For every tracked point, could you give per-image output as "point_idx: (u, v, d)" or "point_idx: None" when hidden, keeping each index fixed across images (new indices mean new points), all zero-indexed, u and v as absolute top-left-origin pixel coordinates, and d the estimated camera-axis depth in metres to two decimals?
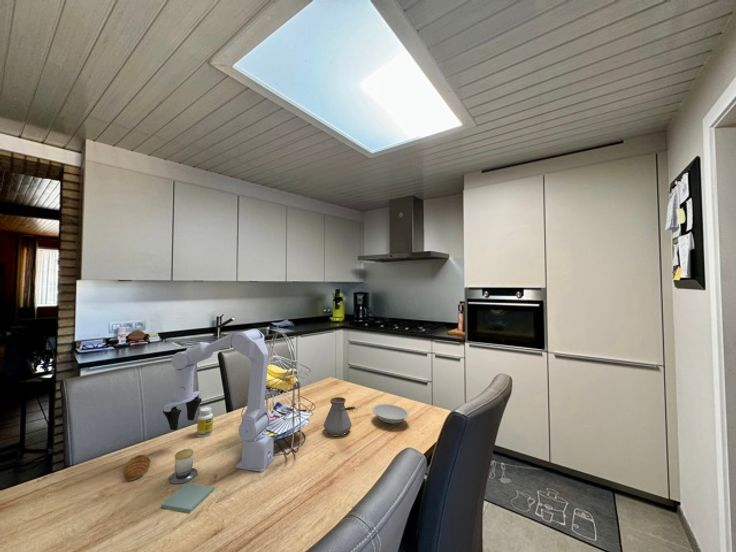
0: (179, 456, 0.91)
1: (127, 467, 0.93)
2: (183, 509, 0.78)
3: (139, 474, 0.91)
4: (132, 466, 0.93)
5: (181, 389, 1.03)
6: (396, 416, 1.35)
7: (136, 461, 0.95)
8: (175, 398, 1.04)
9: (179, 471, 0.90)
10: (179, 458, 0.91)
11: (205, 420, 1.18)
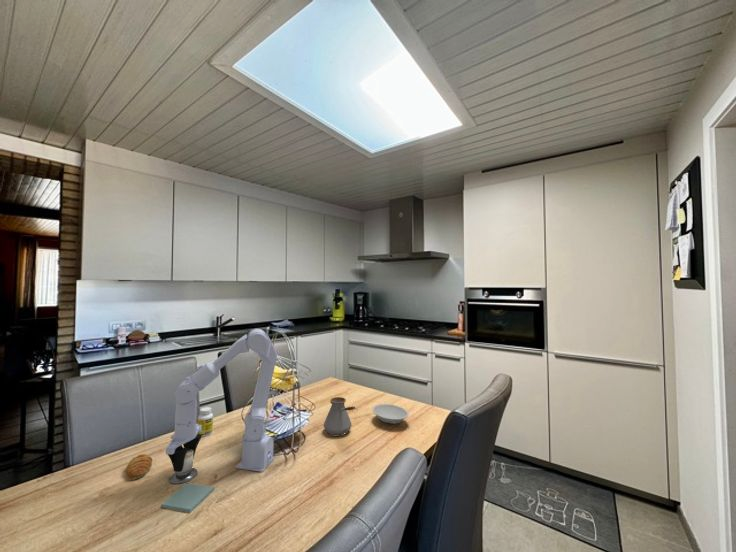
0: None
1: (130, 466, 0.93)
2: (183, 509, 0.78)
3: (142, 473, 0.92)
4: (135, 465, 0.93)
5: (184, 426, 0.91)
6: (396, 416, 1.35)
7: (138, 460, 0.95)
8: (177, 437, 0.91)
9: None
10: None
11: (205, 420, 1.18)
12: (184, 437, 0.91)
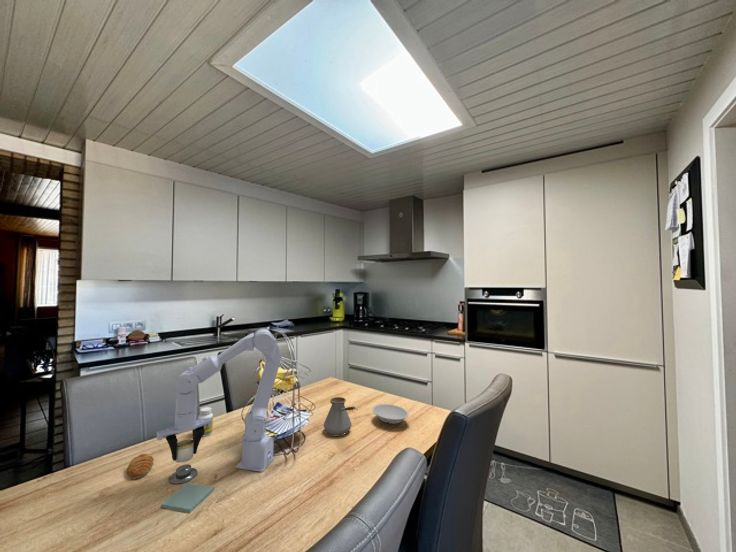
0: (177, 444, 0.92)
1: (131, 466, 0.93)
2: (183, 509, 0.78)
3: (144, 472, 0.92)
4: (136, 465, 0.93)
5: (177, 416, 0.91)
6: (396, 416, 1.35)
7: (140, 460, 0.95)
8: (175, 424, 0.92)
9: (175, 460, 0.91)
10: None
11: None
12: (177, 427, 0.91)
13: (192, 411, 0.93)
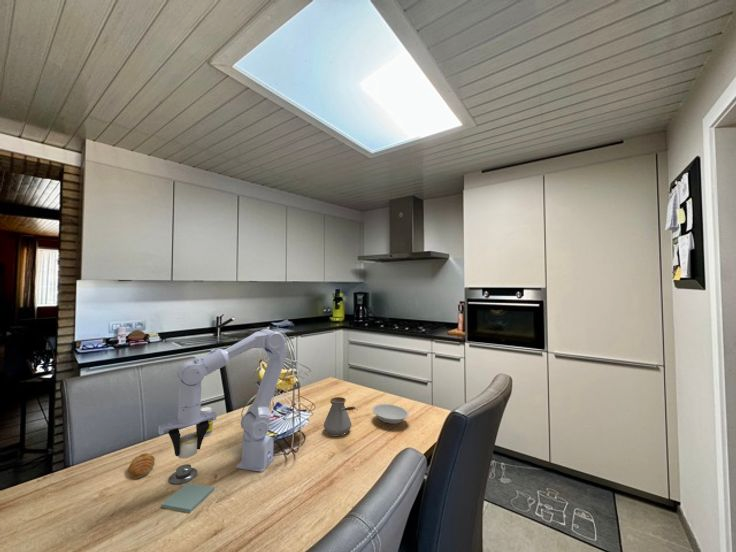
0: (180, 439, 0.87)
1: (133, 465, 0.94)
2: (183, 509, 0.78)
3: (146, 472, 0.92)
4: (138, 464, 0.94)
5: (180, 409, 0.86)
6: (396, 416, 1.35)
7: (141, 459, 0.96)
8: None
9: None
10: None
11: None
12: (180, 421, 0.86)
13: (198, 403, 0.88)
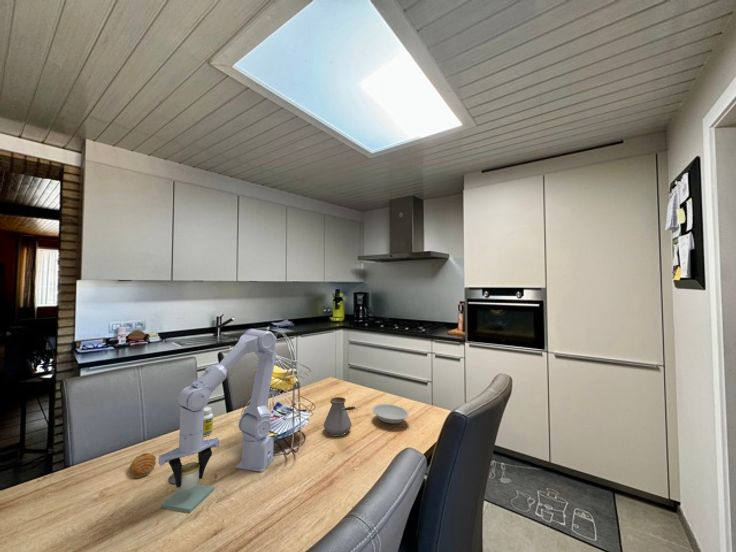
0: (181, 469, 0.83)
1: (134, 465, 0.94)
2: (183, 509, 0.78)
3: (147, 471, 0.93)
4: (139, 464, 0.94)
5: (182, 437, 0.81)
6: (396, 416, 1.35)
7: (142, 459, 0.96)
8: (179, 447, 0.83)
9: None
10: None
11: (205, 420, 1.18)
12: (181, 450, 0.81)
13: (202, 429, 0.85)
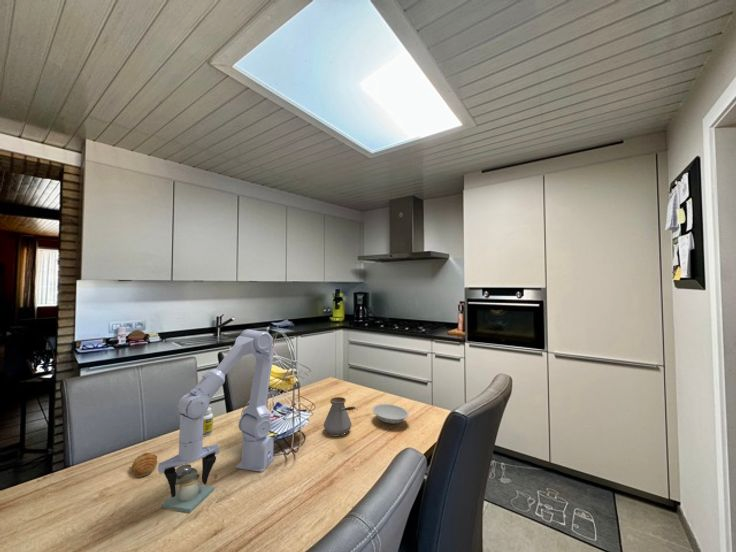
0: (181, 480, 0.82)
1: (136, 464, 0.94)
2: (183, 509, 0.78)
3: (149, 470, 0.93)
4: (141, 463, 0.94)
5: (181, 445, 0.81)
6: (396, 416, 1.35)
7: (144, 458, 0.96)
8: (178, 454, 0.82)
9: (179, 498, 0.81)
10: (179, 483, 0.82)
11: (205, 420, 1.18)
12: (181, 457, 0.81)
13: (202, 436, 0.84)
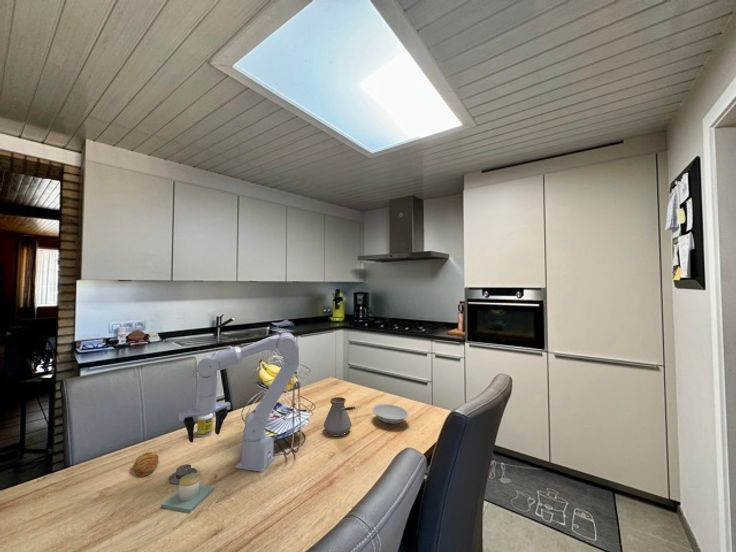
0: (181, 480, 0.82)
1: (137, 464, 0.95)
2: (183, 509, 0.78)
3: (151, 470, 0.93)
4: (143, 462, 0.95)
5: (199, 398, 0.94)
6: (396, 416, 1.35)
7: (146, 458, 0.96)
8: (196, 407, 0.95)
9: (179, 497, 0.81)
10: (179, 483, 0.82)
11: (205, 420, 1.18)
12: (198, 409, 0.94)
13: (212, 394, 0.96)
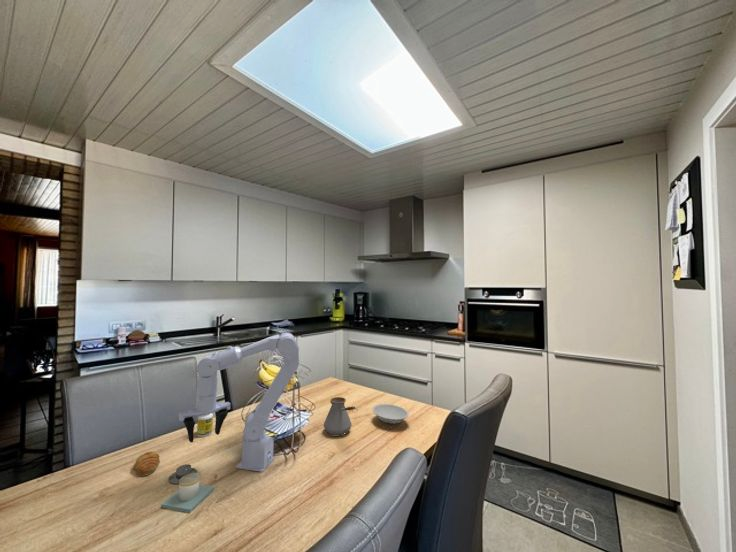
0: (181, 480, 0.82)
1: (139, 463, 0.95)
2: (183, 509, 0.78)
3: (152, 469, 0.94)
4: (144, 462, 0.95)
5: (199, 398, 0.94)
6: (396, 416, 1.35)
7: (147, 457, 0.97)
8: (196, 407, 0.95)
9: (179, 497, 0.82)
10: (179, 483, 0.82)
11: (205, 420, 1.18)
12: (198, 409, 0.94)
13: (212, 394, 0.96)
